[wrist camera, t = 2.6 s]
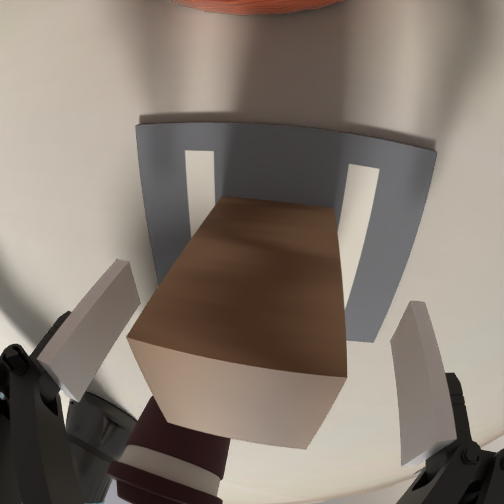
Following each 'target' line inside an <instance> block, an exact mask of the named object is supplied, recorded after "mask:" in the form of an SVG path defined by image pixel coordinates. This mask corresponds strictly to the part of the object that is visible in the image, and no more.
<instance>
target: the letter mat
mask: <svg viewBox="0 0 504 504" xmlns="http://www.w3.org/2000/svg"><path fill="white" fill-rule="evenodd" d="M136 139H137V149H138V159H139V168H140V177H141V185H142V192H143V199H144V206H145V213H146V219H147V225H148V231H149V237H150V243H151V248H152V253H153V259H154V264H155V269H156V274H157V278H158V283H159V285H160V284H161V282H162V281H163V279H164V278H165V276H166V275H167V273H168V272H169V270H170V269H171V267H172V266H173V264H174V263H175V261H176V260H177V258H178V257H179V255H180V254H181V252H182V251H183V250H184V248H185V247H186V245H187V244H188V242H189V241H190V240H191V238H192V237H193V235H194V234H195V232H196V231H197V230H198V228H199V227H200V225H201V224H202V223H203V221H204V220H205V218H206V217H207V216H208V214H209V213H210V212H211V210H212V209H213V207H214V206H215V205H216V203H217V202H218V201H219V199H220V198H221V197H222V196H227V197H238V198H249V199H259V200H269V201H278V202H287V203H296V204H304V205H312V206H320V207H328V208H334V210H335V217H336V225H337V233H338V241H339V250H340V260H341V270H342V281H343V293H344V308H345V325H346V340H348V341H359V342H371V343H373V342H374V340H375V338H376V336H377V334H378V332H379V330H380V328H381V325H382V323H383V321H384V319H385V316H386V314H387V312H388V309H389V307H390V305H391V302H392V300H393V297H394V295H395V292H396V290H397V287H398V285H399V282H400V280H401V277H402V274H403V272H404V269H405V266H406V263H407V261H408V258H409V255H410V252H411V249H412V246H413V243H414V240H415V237H416V234H417V230H418V227H419V224H420V221H421V217H422V214H423V210H424V206H425V203H426V199H427V195H428V191H429V187H430V183H431V179H432V175H433V170H434V166H435V161H436V156H437V152H436V151H434V150H430V149H426V148H422V147H418V146H414V145H410V144H406V143H401V142H396V141H392V140H387V139H382V138H377V137H371V136H366V135H360V134H354V133H347V132H341V131H334V130H326V129H318V128H310V127H300V126H290V125H278V124H263V123H244V122H170V123H150V124H138V125H136Z"/></svg>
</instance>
